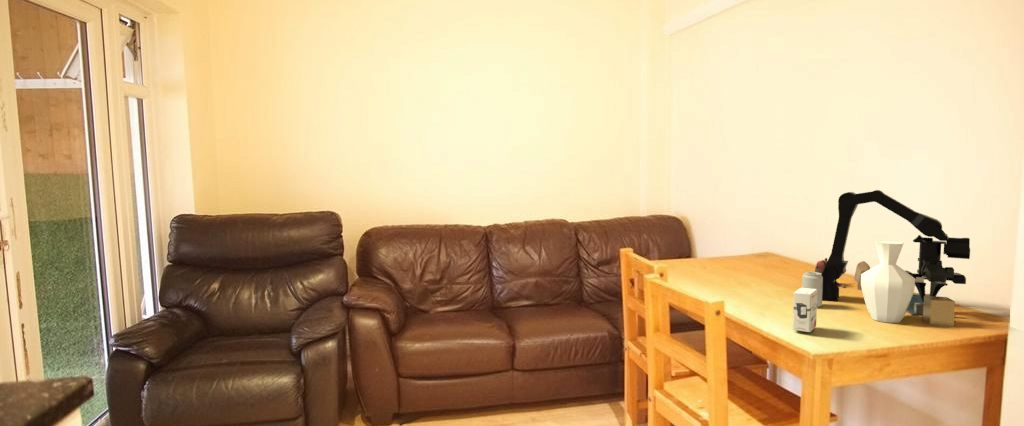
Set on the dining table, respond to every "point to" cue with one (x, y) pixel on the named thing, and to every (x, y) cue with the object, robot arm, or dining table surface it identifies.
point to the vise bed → (912, 310)
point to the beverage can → (813, 284)
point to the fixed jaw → (918, 308)
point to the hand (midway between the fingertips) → (927, 302)
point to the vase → (887, 285)
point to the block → (938, 311)
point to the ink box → (805, 309)
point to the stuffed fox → (820, 268)
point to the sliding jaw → (917, 298)
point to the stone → (860, 272)
